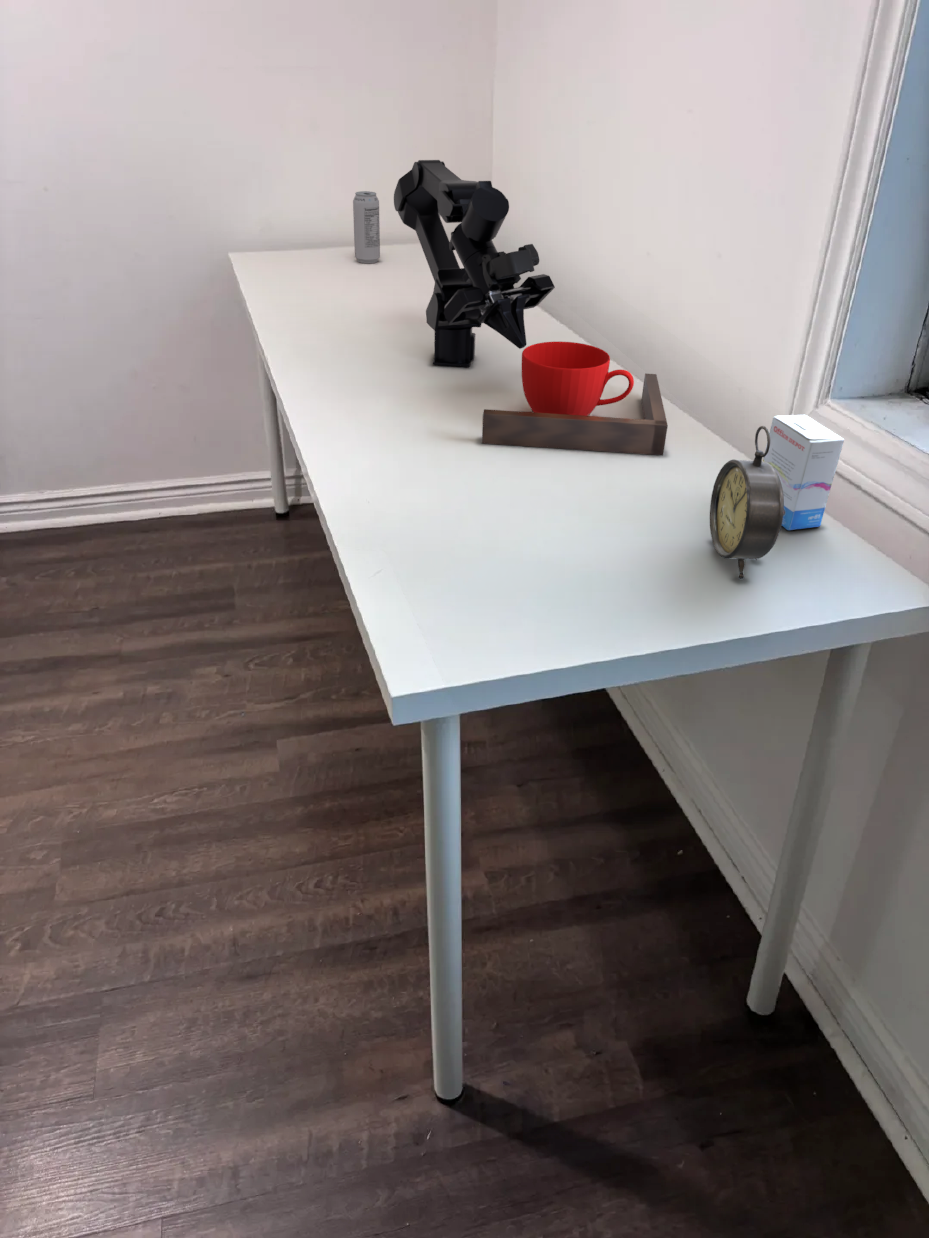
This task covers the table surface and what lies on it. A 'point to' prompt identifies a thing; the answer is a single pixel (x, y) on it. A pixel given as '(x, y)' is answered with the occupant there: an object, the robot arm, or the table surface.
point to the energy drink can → (366, 227)
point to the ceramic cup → (567, 378)
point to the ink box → (803, 467)
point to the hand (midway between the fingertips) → (523, 347)
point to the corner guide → (583, 428)
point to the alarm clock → (746, 508)
